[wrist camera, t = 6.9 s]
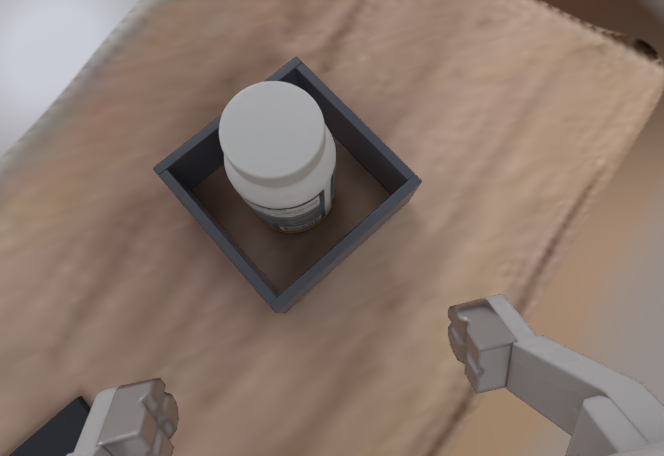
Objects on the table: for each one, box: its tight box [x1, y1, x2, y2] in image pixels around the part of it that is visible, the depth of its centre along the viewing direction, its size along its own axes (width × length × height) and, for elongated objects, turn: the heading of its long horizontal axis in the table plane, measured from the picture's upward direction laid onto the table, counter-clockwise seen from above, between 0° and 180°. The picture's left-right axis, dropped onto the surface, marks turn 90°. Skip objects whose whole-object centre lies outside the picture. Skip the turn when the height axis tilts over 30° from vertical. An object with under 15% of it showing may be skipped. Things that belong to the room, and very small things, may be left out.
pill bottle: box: [219, 81, 336, 233], centre depth 22 cm, size 6×6×10 cm
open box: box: [153, 57, 422, 313], centre depth 24 cm, size 11×11×4 cm
